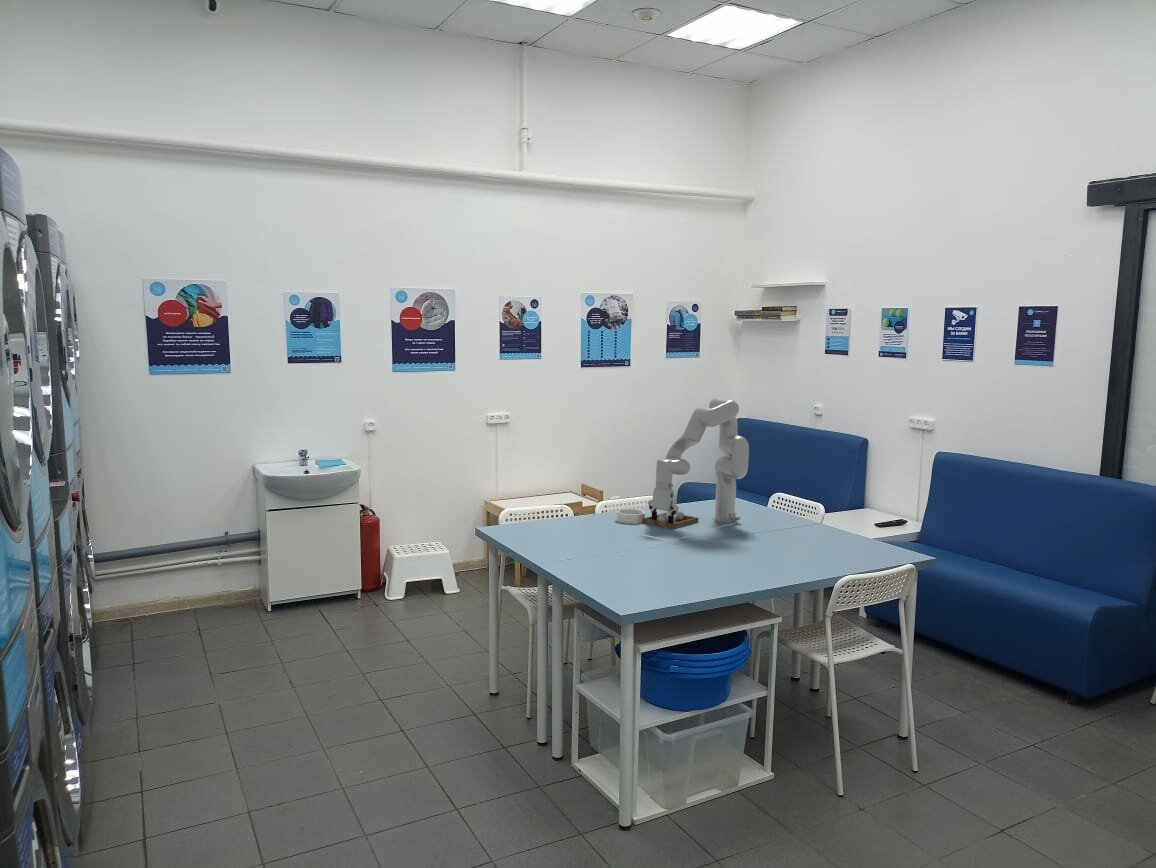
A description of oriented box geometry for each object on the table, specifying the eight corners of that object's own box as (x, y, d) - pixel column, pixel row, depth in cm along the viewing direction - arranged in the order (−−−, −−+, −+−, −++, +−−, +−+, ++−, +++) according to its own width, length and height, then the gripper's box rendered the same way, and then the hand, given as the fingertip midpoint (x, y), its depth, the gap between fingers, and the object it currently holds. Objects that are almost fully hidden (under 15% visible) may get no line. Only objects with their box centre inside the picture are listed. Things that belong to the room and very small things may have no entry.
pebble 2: (678, 522, 384) (678, 512, 383) (671, 524, 380) (672, 513, 379) (669, 520, 387) (669, 510, 386) (663, 522, 383) (663, 512, 383)
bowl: (649, 522, 386) (649, 512, 386) (632, 526, 377) (632, 516, 376) (628, 517, 395) (628, 507, 394) (611, 521, 386) (611, 511, 385)
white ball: (669, 524, 379) (670, 514, 378) (663, 526, 375) (663, 515, 375) (661, 522, 382) (661, 512, 382) (654, 524, 379) (655, 514, 378)
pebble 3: (685, 520, 388) (686, 510, 388) (679, 522, 385) (680, 511, 384) (677, 518, 392) (677, 508, 391) (671, 520, 388) (671, 510, 388)
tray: (698, 523, 386) (698, 517, 385) (672, 530, 370) (672, 524, 370) (669, 517, 397) (669, 511, 397) (642, 524, 382) (642, 518, 381)
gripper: (683, 487, 374) (682, 523, 375) (653, 482, 385) (652, 517, 387) (674, 489, 368) (672, 526, 370) (644, 483, 380) (642, 519, 382)
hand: (662, 521), depth 379 cm, fingers open, 9 cm apart
